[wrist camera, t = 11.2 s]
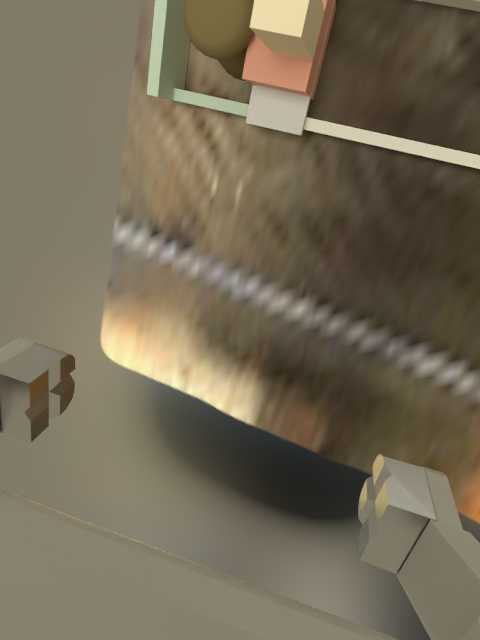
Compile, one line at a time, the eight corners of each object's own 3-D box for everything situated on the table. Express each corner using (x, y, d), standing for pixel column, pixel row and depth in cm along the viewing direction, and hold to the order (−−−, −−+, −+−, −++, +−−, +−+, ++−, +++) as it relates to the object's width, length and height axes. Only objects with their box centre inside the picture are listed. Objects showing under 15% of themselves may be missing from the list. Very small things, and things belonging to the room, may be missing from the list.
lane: (563, 9, 32) (606, -17, 26) (491, 171, 37) (514, 177, 32) (191, -55, 36) (163, -88, 30) (173, 100, 41) (146, 94, 36)
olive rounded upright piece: (294, 22, 36) (273, -21, 26) (262, 93, 39) (232, 78, 29) (234, -12, 36) (191, -67, 27) (206, 61, 39) (158, 36, 29)
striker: (347, -38, 33) (345, -162, 20) (304, 135, 39) (279, 134, 25) (287, -48, 34) (244, -175, 20) (253, 124, 40) (202, 116, 26)
